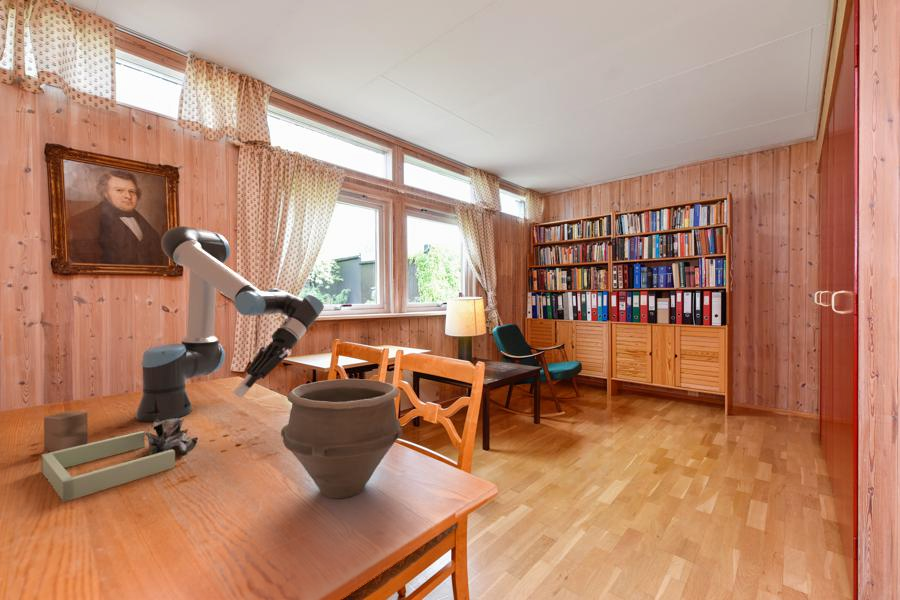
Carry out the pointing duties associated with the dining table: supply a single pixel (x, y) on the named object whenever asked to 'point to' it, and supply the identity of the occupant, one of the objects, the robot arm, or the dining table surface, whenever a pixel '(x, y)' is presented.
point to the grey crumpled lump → (169, 436)
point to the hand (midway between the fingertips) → (237, 395)
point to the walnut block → (65, 430)
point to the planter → (341, 431)
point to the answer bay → (106, 476)
